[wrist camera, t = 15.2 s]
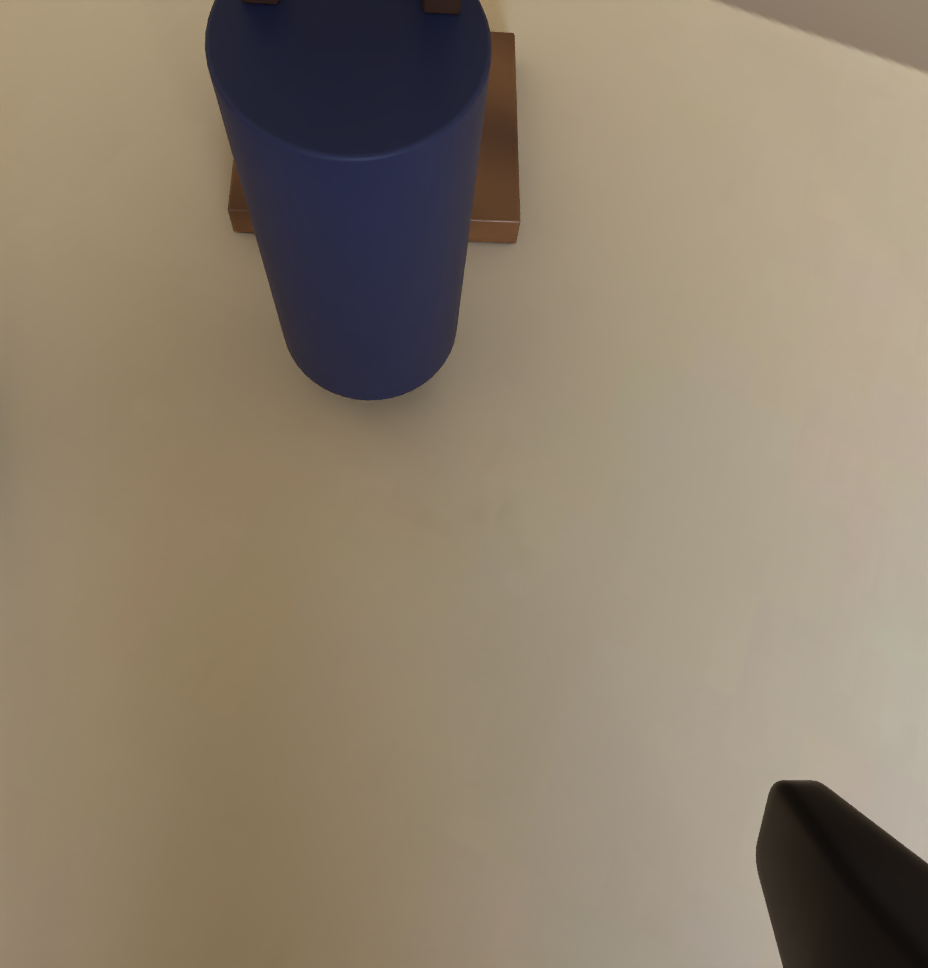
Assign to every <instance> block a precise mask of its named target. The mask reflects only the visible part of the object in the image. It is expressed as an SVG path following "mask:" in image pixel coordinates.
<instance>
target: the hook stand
mask: <svg viewBox="0 0 928 968" xmlns="http://www.w3.org/2000/svg"><path fill="white" fill-rule="evenodd" d="M490 33H491V43H492V55H491V67H490V75H489V82H488V90H487V98H486V106H485V113H484V121H483V129H482V137H481V144H480V152H479V160H478V167H477V175H476V183H475V191H474V198H473V206H472V214H471V222H470V229H469V237H468V241H474V242H499V243H516V240H517V235H518V230H519V225H520V198H519V165H518V132H517V100H516V67H515V35H514V33H503V32H490ZM228 212H229V215H230V219H231V223H232V226H233V230H234V232H248V233H255V232H254V228H253V225H252V221H251V218H250V214H249V211H248V207H247V204H246V200H245V196H244V193H243V189H242V186H241V182H240V179H239V175H238V172H237V168H236V165H235V161H234V160H233V169H232V178H231V186H230V195H229V204H228Z"/></svg>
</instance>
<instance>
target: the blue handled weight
mask: <svg viewBox="0 0 928 968" xmlns="http://www.w3.org/2000/svg"><path fill="white" fill-rule="evenodd" d="M205 52H206V59H207V65H208V69H209V72H210V76H211V80H212V83H213V87H214V90H215V94H216V97H217V101H218V104H219V108H220V111H221V115H222V119H223V122H224V126H225V129H226V133H227V136H228V140H229V143H230V147H231V150H232V154H233V157H234V161H235V165H236V168H237V172H238V175H239V179H240V182H241V186H242V189H243V193H244V196H245V200H246V204H247V207H248V211H249V214H250V218H251V221H252V225H253V228H254V232H255V235H256V239H257V243H258V246H259V250H260V253H261V257H262V260H263V264H264V267H265V271H266V274H267V278H268V282H269V285H270V289H271V292H272V296H273V299H274V303H275V306H276V310H277V313H278V317H279V321H280V324H281V328H282V331H283V335H284V338H285V341H286V345H287V348H288V350H289V352H290V354H291V356H292V358H293V359H294V361H295V362H296V364H297V365H298V367H299V368H300V369H301V370H302V371H303V372H304V374H305V375H307V376H308V377H309V378H310V379H311V380H312V381H313V382H315V383H316V384H318V385H319V386H321V387H322V388H324V389H326V390H328V391H330V392H332V393H335V394H338V395H341V396H344V397H348V398H353V399H360V400H381V399H387V398H392V397H396V396H399V395H403V394H405V393H407V392H410V391H412V390H414V389H416V388H417V387H419V386H421V385H422V384H424V383H425V382H426V381H428V380H429V379H430V378H431V377H432V376H433V375H434V374H435V373H436V372H437V371H438V370H439V369H440V368H441V366H442V365H443V364H444V362H445V361H446V359H447V357H448V355H449V354H450V352H451V349H452V346H453V344H454V340H455V336H456V330H457V322H458V315H459V307H460V299H461V291H462V284H463V276H464V268H465V260H466V253H467V245H468V237H469V229H470V222H471V214H472V206H473V198H474V191H475V183H476V175H477V167H478V160H479V152H480V144H481V137H482V129H483V121H484V113H485V106H486V98H487V90H488V82H489V75H490V67H491V55H492V43H491V33H490V29H489V25H488V21H487V18H486V15H485V13H484V11H483V8H482V6H481V4H480V1H479V0H215V1H214V4H213V6H212V9H211V12H210V15H209V18H208V23H207V28H206V33H205Z"/></svg>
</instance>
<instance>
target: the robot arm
mask: <svg viewBox="0 0 928 968" xmlns="http://www.w3.org/2000/svg"><path fill="white" fill-rule="evenodd" d="M756 864H757V871H758V875H759V879H760V883H761V886H762V890H763V894H764V897H765V901H766V905H767V909H768V912H769V916H770V920H771V924H772V927H773V931H774V935H775V939H776V942H777V946H778V950H779V954H780V957H781V961H782V965H783V968H928V863H926V862H925V861H924V860H922V859H921V858H920V857H918V856H917V855H916V854H914V853H913V852H912V851H911V850H909V849H908V848H907V847H905V846H904V845H903V844H901V843H900V842H899V841H897V840H896V839H895V838H893V837H892V836H891V835H890V834H888V833H887V832H886V831H884V830H883V829H882V828H880V827H879V826H878V825H876V824H875V823H874V822H873V821H871V820H870V819H869V818H867V817H866V816H865V815H863V814H862V813H861V812H859V811H858V810H857V809H856V808H854V807H853V806H852V805H850V804H849V803H848V802H846V801H845V800H844V799H842V798H841V797H840V796H838V795H837V794H836V793H835V792H833V791H832V790H831V789H829V788H828V787H827V786H825V785H824V784H822V783H820V782H818V781H812V780H782V781H778V782H776V783H775V784H773V786H772V787H771V789H770V792H769V795H768V799H767V803H766V807H765V811H764V816H763V820H762V824H761V828H760V832H759V836H758V841H757V846H756Z"/></svg>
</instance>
